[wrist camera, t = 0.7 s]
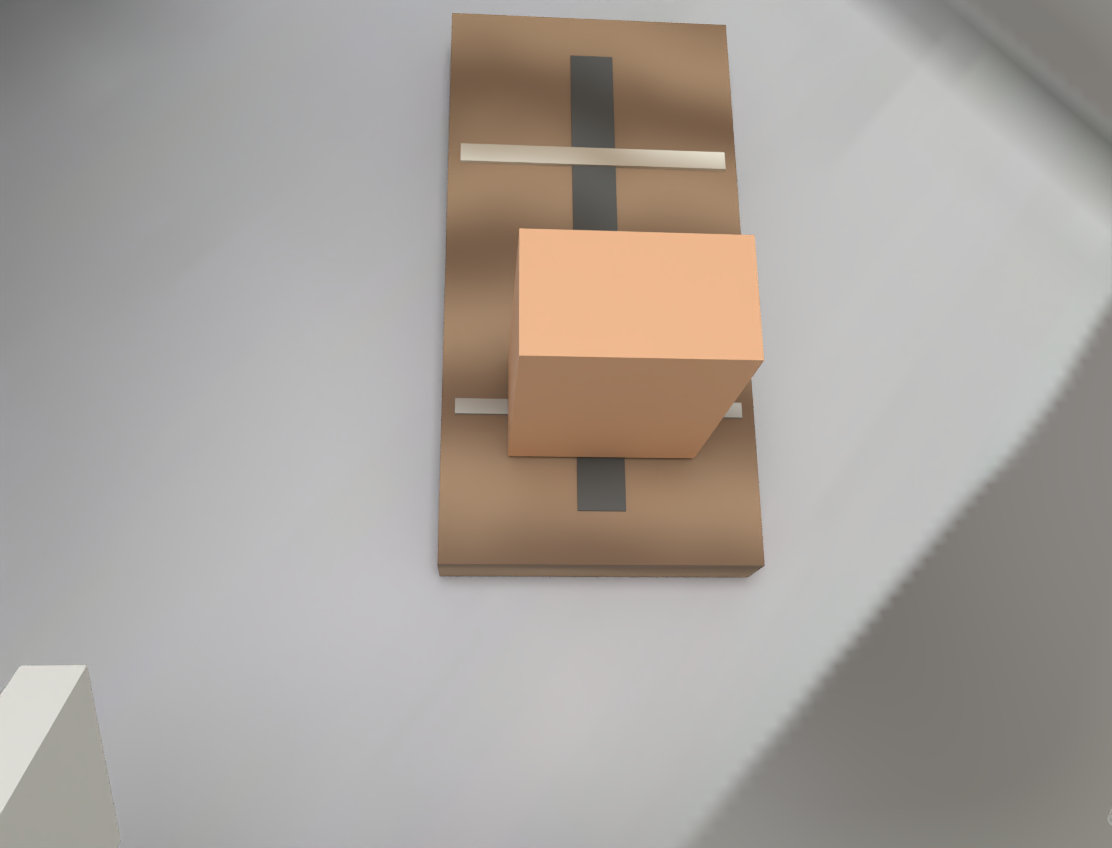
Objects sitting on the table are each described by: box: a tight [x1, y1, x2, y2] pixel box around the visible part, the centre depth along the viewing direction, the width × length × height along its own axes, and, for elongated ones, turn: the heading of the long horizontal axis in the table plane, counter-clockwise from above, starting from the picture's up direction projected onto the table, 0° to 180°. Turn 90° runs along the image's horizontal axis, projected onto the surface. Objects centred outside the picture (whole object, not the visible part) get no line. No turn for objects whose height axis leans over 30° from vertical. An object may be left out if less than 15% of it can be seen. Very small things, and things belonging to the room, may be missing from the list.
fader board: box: [438, 13, 765, 577], centre depth 43 cm, size 24×12×3 cm, turn 1°
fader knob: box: [508, 228, 764, 458], centre depth 35 cm, size 4×7×10 cm, turn 91°
